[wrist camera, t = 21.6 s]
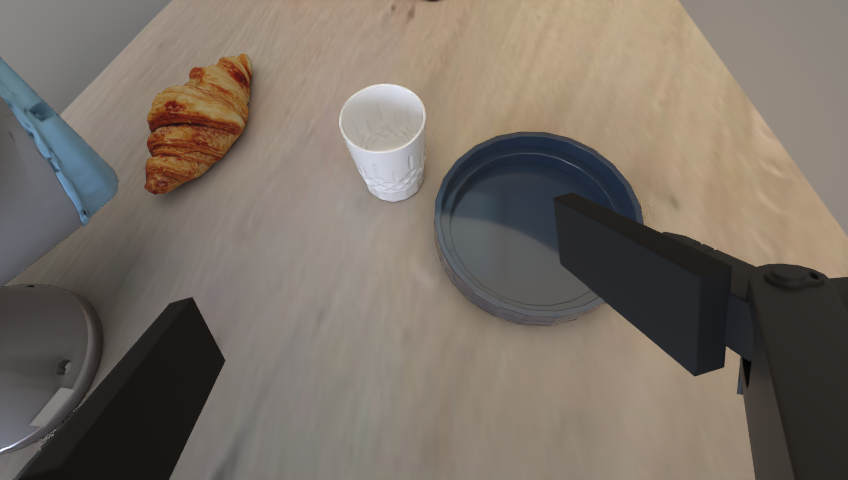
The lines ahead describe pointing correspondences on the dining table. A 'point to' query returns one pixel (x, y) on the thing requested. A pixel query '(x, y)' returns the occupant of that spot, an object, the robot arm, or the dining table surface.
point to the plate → (522, 223)
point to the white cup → (386, 139)
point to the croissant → (197, 122)
